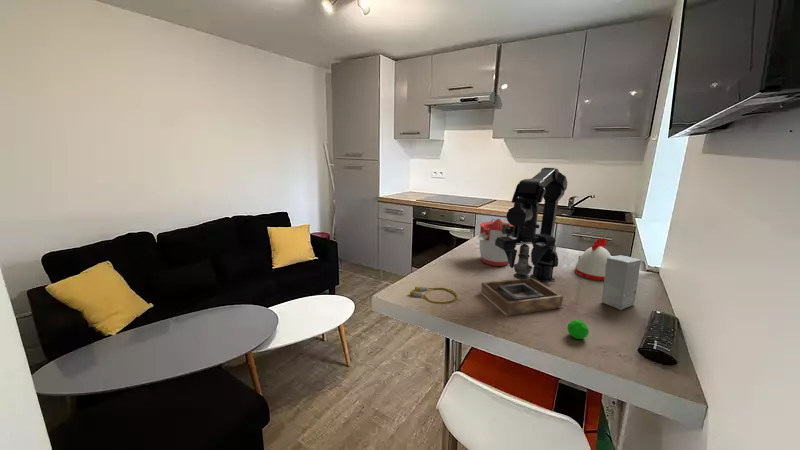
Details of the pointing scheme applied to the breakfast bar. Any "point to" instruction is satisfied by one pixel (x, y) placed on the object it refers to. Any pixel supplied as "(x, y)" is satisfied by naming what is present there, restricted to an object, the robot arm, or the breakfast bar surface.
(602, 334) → the breakfast bar surface
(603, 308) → the breakfast bar surface
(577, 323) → the polyhedron
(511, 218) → the robot arm
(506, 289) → the inlet collar
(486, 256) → the citrus juicer
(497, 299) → the walled box
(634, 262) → the skincare box
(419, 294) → the extension cord
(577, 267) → the white chicken dome
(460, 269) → the breakfast bar surface
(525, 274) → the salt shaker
